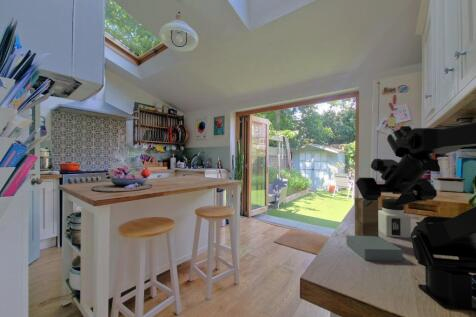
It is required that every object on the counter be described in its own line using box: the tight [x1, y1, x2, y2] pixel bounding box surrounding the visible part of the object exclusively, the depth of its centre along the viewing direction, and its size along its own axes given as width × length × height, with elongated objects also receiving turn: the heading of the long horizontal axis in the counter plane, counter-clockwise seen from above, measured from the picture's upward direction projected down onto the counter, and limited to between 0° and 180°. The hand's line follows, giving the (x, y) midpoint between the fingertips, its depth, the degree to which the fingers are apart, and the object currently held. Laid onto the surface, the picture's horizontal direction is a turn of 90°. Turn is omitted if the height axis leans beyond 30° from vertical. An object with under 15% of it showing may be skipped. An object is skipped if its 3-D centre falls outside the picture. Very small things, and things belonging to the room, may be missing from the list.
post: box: [354, 197, 379, 236], centre depth 70 cm, size 5×5×14 cm
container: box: [378, 197, 412, 239], centre depth 77 cm, size 8×8×13 cm
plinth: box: [346, 235, 404, 262], centre depth 61 cm, size 10×10×3 cm
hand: (380, 204), depth 63 cm, fingers open, 9 cm apart
